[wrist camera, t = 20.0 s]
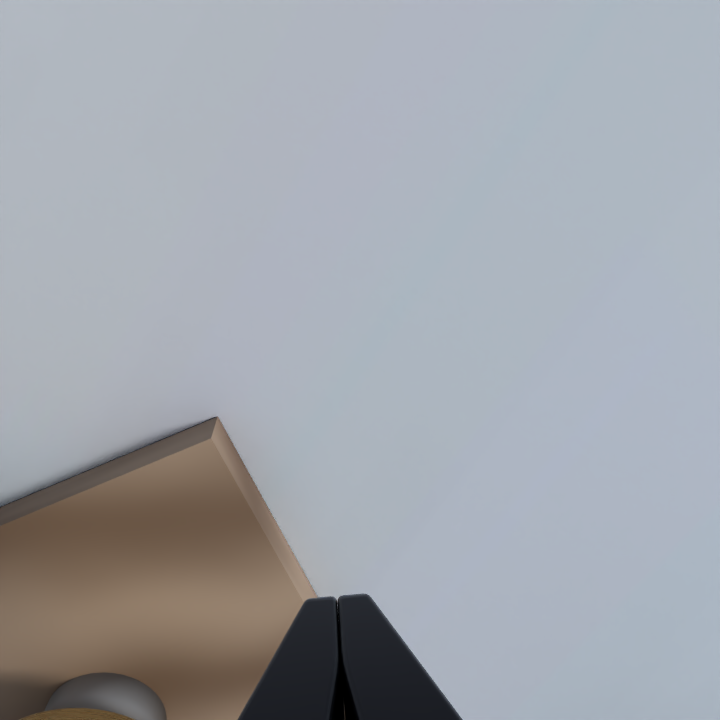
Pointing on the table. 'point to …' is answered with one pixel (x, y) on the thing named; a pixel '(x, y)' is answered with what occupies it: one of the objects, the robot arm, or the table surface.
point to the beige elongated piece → (76, 715)
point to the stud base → (145, 586)
